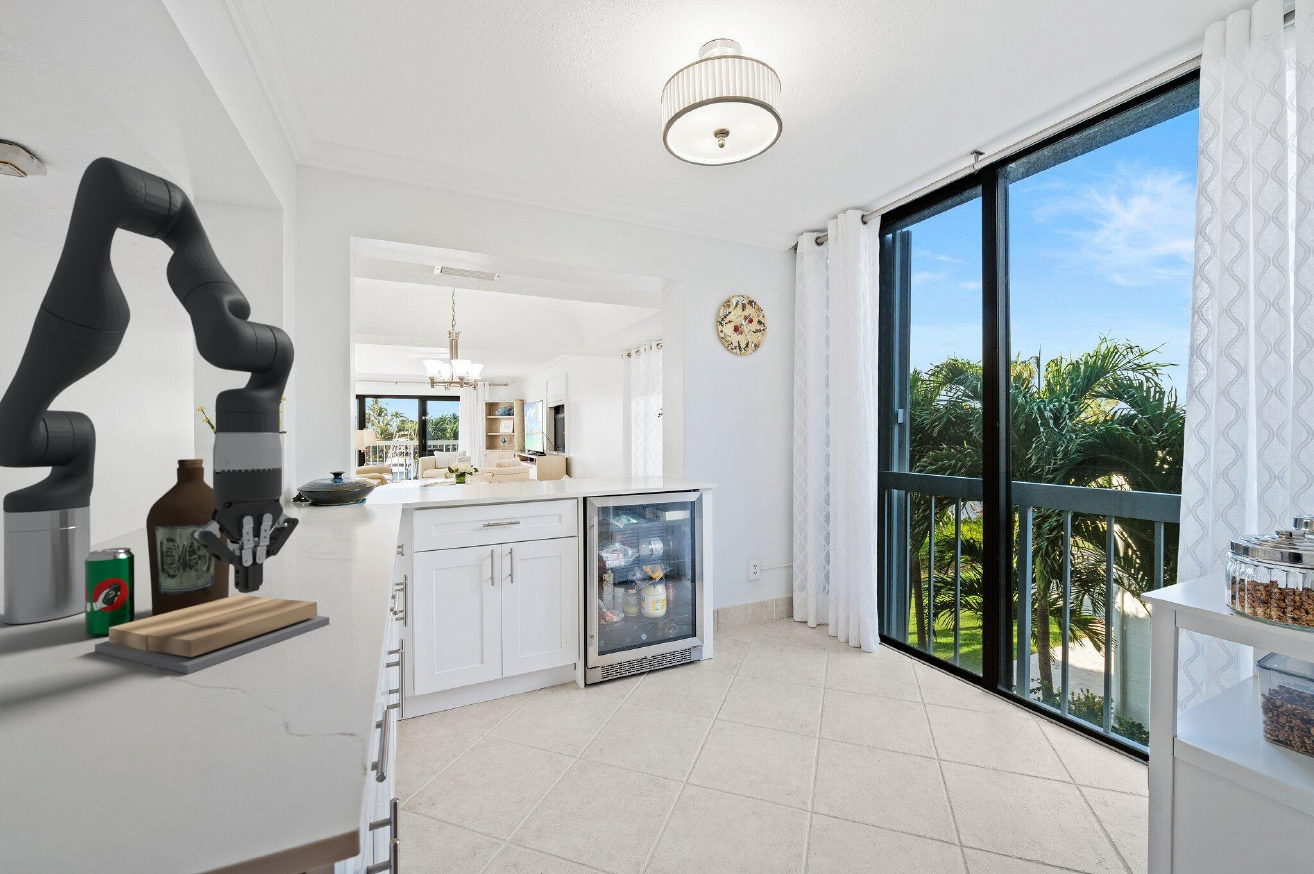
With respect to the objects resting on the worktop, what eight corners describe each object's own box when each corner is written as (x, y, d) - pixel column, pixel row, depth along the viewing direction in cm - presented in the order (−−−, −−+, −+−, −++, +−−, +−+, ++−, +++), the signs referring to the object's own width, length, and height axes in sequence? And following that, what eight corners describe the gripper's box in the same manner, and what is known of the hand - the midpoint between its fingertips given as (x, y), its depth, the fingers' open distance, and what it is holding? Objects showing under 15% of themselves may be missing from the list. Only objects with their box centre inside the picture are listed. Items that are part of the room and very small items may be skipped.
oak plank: (109, 642, 70) (109, 627, 70) (240, 606, 85) (239, 594, 85) (146, 650, 67) (146, 635, 67) (275, 612, 82) (274, 599, 82)
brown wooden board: (148, 650, 67) (147, 634, 67) (276, 611, 82) (276, 598, 82) (191, 657, 64) (190, 640, 64) (317, 615, 79) (316, 602, 79)
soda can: (144, 626, 80) (143, 546, 80) (106, 638, 75) (105, 554, 75) (114, 625, 80) (114, 546, 80) (74, 637, 75) (74, 553, 75)
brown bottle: (155, 608, 88) (154, 459, 88) (236, 597, 94) (235, 457, 94) (138, 626, 79) (137, 461, 80) (228, 613, 85) (227, 459, 85)
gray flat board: (94, 651, 70) (94, 644, 70) (242, 610, 87) (242, 604, 87) (188, 674, 63) (188, 665, 63) (329, 623, 80) (329, 617, 80)
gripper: (279, 463, 80) (279, 577, 80) (173, 467, 68) (173, 602, 68) (313, 464, 77) (314, 581, 77) (210, 469, 65) (210, 609, 65)
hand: (248, 591), depth 72 cm, fingers closed
